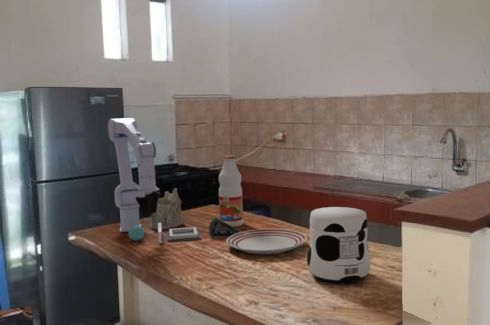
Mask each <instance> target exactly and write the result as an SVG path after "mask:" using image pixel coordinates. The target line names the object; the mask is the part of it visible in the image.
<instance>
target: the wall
mask: <svg viewBox="0 0 490 325" xmlns="http://www.w3.org/2000/svg"><path fill="white" fill-rule="evenodd" d="M162 230H163V229H161V223H158V229H157V231H158V232H157V234H158V244H163V234H162Z"/></svg>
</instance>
